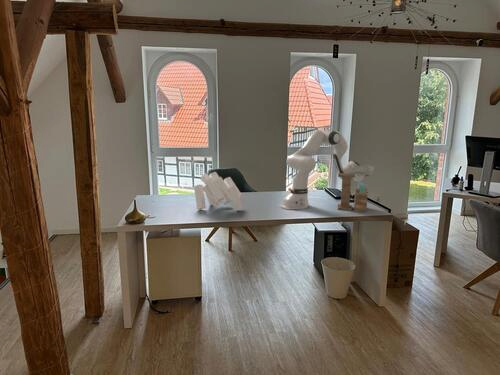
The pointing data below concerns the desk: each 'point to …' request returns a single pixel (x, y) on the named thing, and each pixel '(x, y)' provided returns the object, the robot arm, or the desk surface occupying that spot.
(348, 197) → the walnut shelf post
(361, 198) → the oak block
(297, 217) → the desk surface
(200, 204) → the pile of blocks
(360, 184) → the teal bar
